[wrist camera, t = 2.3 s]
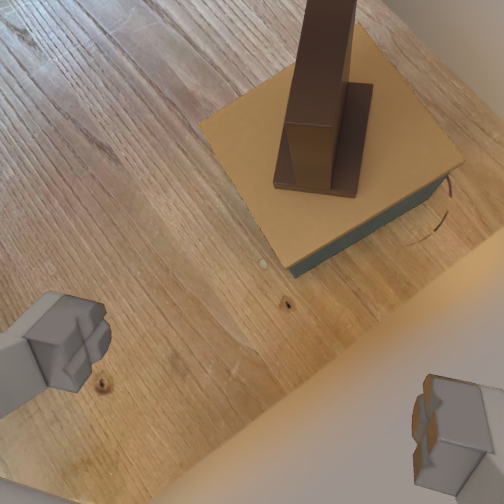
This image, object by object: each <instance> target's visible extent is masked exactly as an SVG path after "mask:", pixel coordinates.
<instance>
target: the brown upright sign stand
mask: <svg viewBox="0 0 504 504" xmlns="http://www.w3.org/2000/svg"><path fill="white" fill-rule="evenodd" d="M356 2H357V0H307V4H306V9H305V15H304V20H303V25H302V31H301V36H300V41H299V47H298V52H297V58H296V63H295V68H294V74H293V78H292V81H291V87H290V92H289V97H288V103H287V108H286V114H285V119H284V124H283V130H282V135H281V140H280V146H279V151H278V156H277V162H276V167H275V173H274V178H273V185H274V188H276V189H284V190H292V191H299V192H307V193H315V194H323V195H331V196H339V197H347V198H356V194H357V189H358V182H359V176H360V169H361V163H362V156H363V150H364V144H365V137H366V131H367V124H368V118H369V112H370V105H371V99H372V92H373V86H374V85H373V84H370V83H357V82H349V73H350V63H351V52H352V42H353V32H354V22H355V12H356Z"/></svg>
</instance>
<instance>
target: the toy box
mask: <svg viewBox="0 0 504 504" xmlns="http://www.w3.org/2000/svg"><path fill="white" fill-rule="evenodd" d="M295 63H296V62H295ZM295 63H293V64H292V65H290V66H288V67H287V68H285V69H284V70H282V71H281V72H279V73H277V74H276V75H274V76H273V77H271V78H270V79H268V80H266V81H265V82H263V83H262V84H260V85H258V86H257V87H255V88H254V89H252V90H251V91H249V92H247V93H246V94H244V95H243V96H241V97H239V98H238V99H236V100H235V101H233V102H232V103H230V104H228V105H227V106H225V107H224V108H222V109H220V110H219V111H217V112H216V113H214V114H213V115H211V116H209V117H208V118H206V119H205V120H203V121H202V122H200V123H198V126H199V127H200V129H201V131H202V132H203V134H204V136H205V137H206V139H207V141H208V142H209V144H210V146H211V147H212V149H213V151H214V152H215V154H216V156H217V157H218V159H219V161H220V162H221V164H222V166H223V167H224V169H225V171H226V172H227V174H228V176H229V177H230V179H231V181H232V182H233V184H234V185H235V187H236V189H237V190H238V192H239V194H240V195H241V197H242V199H243V200H244V202H245V204H246V205H247V207H248V209H249V210H250V212H251V214H252V215H253V217H254V219H255V220H256V222H257V224H258V225H259V227H260V229H261V230H262V232H263V234H264V235H265V237H266V239H267V240H268V242H269V244H270V245H271V247H272V249H273V250H274V252H275V254H276V255H277V257H278V259H279V260H280V262H281V264H282V265H283V267H284V268H285V270H287V269H289V270H290V272H291V273H292V275H293V276H294V278H297V277H298V276H300V275H302V274H303V273H305V272H307V271H308V270H310V269H312V268H313V267H315V266H317V265H318V264H320V263H322V262H323V261H325V260H327V259H328V258H330V257H332V256H333V255H335V254H337V253H338V252H340V251H342V250H344V249H345V248H347V247H349V246H350V245H352V244H354V243H355V242H357V241H359V240H360V239H362V238H364V237H365V236H367V235H369V234H370V233H372V232H374V231H375V230H377V229H379V228H380V227H382V226H384V225H385V224H387V223H389V222H390V221H392V220H394V219H395V218H397V217H399V216H400V215H402V214H404V213H405V212H407V211H409V210H411V209H412V208H414V207H416V206H417V205H419V204H421V203H422V202H424V201H426V200H427V199H428V198H429V197H430V196H431V195H432V193H433V192H434V191H435V190H436V189H437V187H438V186H439V185H440V184H441V182H442V181H443V180H444V179H445V178H446V176H447V175H448V174H449V173H450V172H451V171H452V170H454V169H456V168H457V167H459V166H461V165H462V164H463V163H464V161H465V160H466V159H465V158H464V156H463V155H462V154H461V152H460V151H459V150H458V149H457V147H456V146H455V145H454V144H453V142H452V141H451V140H450V138H449V137H448V136H447V135H446V133H445V132H444V131H443V129H442V128H441V127H440V126H439V124H438V123H437V122H436V120H435V119H434V118H433V117H432V115H431V114H430V113H429V111H428V110H427V109H426V108H425V106H424V105H423V104H422V102H421V101H420V100H419V99H418V97H417V96H416V95H415V93H414V92H413V91H412V90H411V88H410V87H409V86H408V84H407V83H406V82H405V81H404V79H403V78H402V77H401V75H400V74H399V73H398V72H397V70H396V69H395V68H394V67H393V65H392V64H391V63H390V61H389V60H388V59H387V58H386V56H385V55H384V54H383V52H382V51H381V50H380V49H379V47H378V46H377V45H376V43H375V42H374V41H373V40H372V38H371V37H370V36H369V34H368V33H367V32H366V31H365V29H364V28H363V27H362V25H361V24H360V23H359V22H358V23H356V24H355V25H354V32H353V42H352V52H351V63H350V73H349V82H357V83H370V84H373V85H374V86H373V92H372V99H371V105H370V112H369V118H368V124H367V131H366V137H365V144H364V150H363V156H362V163H361V169H360V176H359V182H358V189H357V194H356V198H347V197H339V196H331V195H323V194H315V193H307V192H299V191H292V190H284V189H276V188H274V185H273V178H274V173H275V167H276V162H277V156H278V151H279V146H280V140H281V135H282V130H283V124H284V119H285V114H286V108H287V103H288V97H289V92H290V87H291V81H292V78H293V74H294V68H295Z"/></svg>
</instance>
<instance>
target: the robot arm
mask: <svg viewBox="0 0 504 504" xmlns="http://www.w3.org/2000/svg"><path fill="white" fill-rule="evenodd" d="M106 314H107V312H106V309H105V306H104V304H102V303H99V302H95V301H91V300H87V299H83V298H79V297H75V296H71V295H66V294H62V293H58V292H54V291H49V292H47V293H44V294H43V295H42V296H41V297H40V298H39V299H38V300H37V301H36V302H35V303H34V304H33V305H32V306H31V307H30V308H29V309H28V310H27V311H26V312H25V313H24V314H23V315H22V316H20V317H19V318H18V319H17V320H16V321H15V322H14V323H13V324H12V325H11V326H10V327H9V328H8V329H7V330H6V331H5V332H4V333H2V332H0V419H1V418H3V417H4V416H6V415H8V414H9V413H11V412H12V411H14V410H15V409H17V408H18V407H20V406H21V405H23V404H24V403H26V402H28V401H29V400H31V399H32V398H34V397H35V396H37V395H38V394H40V393H41V392H43V391H44V390H46V389H47V388H48V387H52V388H56V389H61V390H65V391H69V392H73V393H78V391H79V390H80V389H81V387H82V386H83V384H84V383H85V382H86V380H87V379H88V378H89V376H90V375H91V373H92V364H94V363H96V362H97V361H99V360H101V359H102V358H103V356H104V355H105V353H106V352H107V350H108V347H109V345H110V342H111V328H110V325H109V324H108V323H107V322H106V321H105V319H104V316H105V315H106ZM47 386H48V387H47ZM423 392H424V393H423V394H421V395H419V396H418V397H417V399H416V402H415V405H414V409H413V415H412V437H413V438H414V440H415V441H416V443H417V444H418V445H417V448H416V450H415V452H414V454H413V466H414V484H415V485H418V486H421V487H424V488H428V489H431V490H434V491H438V492H441V493H444V494H448V495H451V496H455V497H456V501H457V503H458V504H504V391H503V390H502V389H498V388H494V387H489V386H484V385H480V384H475V383H471V382H467V381H462V380H457V379H452V378H447V377H443V376H438V375H433V374H428V375H427V376H426V378H425V380H424V383H423ZM0 504H81V503H78V502H75V501H72V500H69V499H65V498H62V497H59V496H56V495H53V494H50V493H47V492H44V491H41V490H38V489H35V488H32V487H29V486H26V485H23V484H20V483H17V482H14V481H11V480H8V479H5V478H2V477H0Z"/></svg>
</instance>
